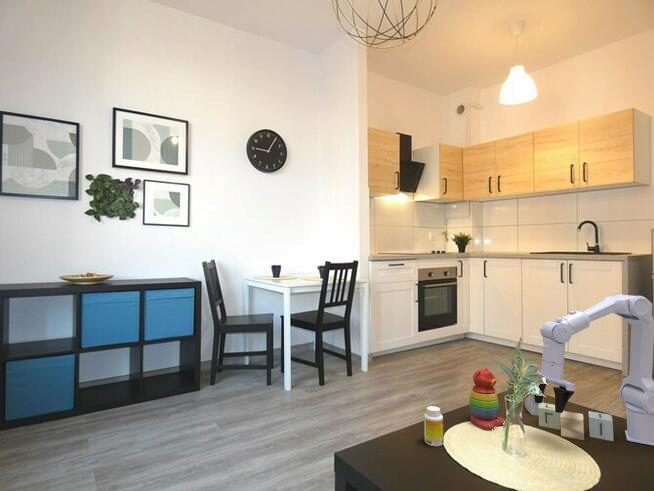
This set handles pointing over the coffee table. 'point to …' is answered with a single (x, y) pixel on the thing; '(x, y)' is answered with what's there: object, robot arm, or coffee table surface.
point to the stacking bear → (484, 401)
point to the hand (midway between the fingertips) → (548, 407)
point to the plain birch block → (572, 425)
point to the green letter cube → (548, 416)
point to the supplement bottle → (433, 426)
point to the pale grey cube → (600, 426)
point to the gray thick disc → (532, 405)
